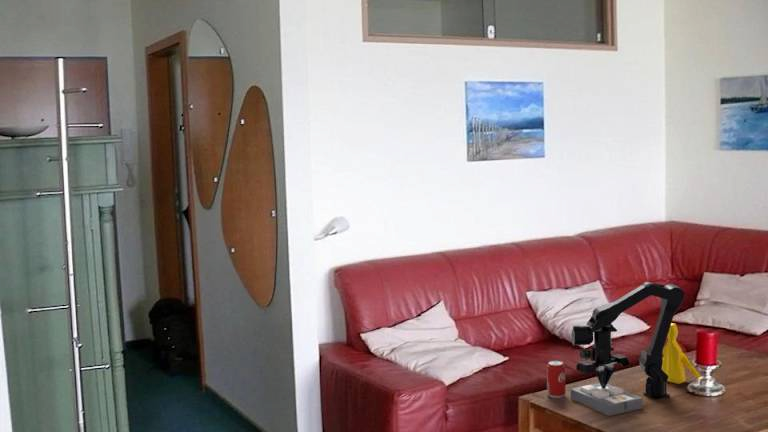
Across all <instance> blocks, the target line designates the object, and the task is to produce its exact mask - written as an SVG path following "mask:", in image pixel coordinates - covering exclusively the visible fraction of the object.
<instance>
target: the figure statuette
mask: <svg viewBox="0 0 768 432" xmlns="http://www.w3.org/2000/svg"><path fill="white" fill-rule="evenodd" d="M678 329H679V328H678V326H677V324H676V323H671V326H670V329H669V332H668V335H667V339H666V340H667V341H666V343H665V345H664V348H663V351H662V359H663V363H662V370H663V371H664V372H665V373H666V374H667V375H668V376H669V377H668V380H667V382H668V383H673V384H677V385H680V384H682V383H685V382H687V380H686V372H685V368H684V366H685V367H686V368H687V369H688V370H689V372H690V373H691V374H692V375H693V376H694V377H695V378H696V379H698V378H700V377H701V375H700V374H699V372H698V371H697V369H696V368H695V367H694V365H692V364H691V361H690V360H689V359H688V357H687V355H686V354H685V353H684V352H683V350H682V348H681V345H679V343H678V342H677V337H678V334H679V330H678Z"/></svg>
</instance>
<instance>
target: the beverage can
mask: <svg viewBox="0 0 768 432" xmlns="http://www.w3.org/2000/svg"><path fill="white" fill-rule="evenodd" d="M546 393H547V395H548V396H549V397H550V398H553V399H560V398H561V399H562V398H563V397H564V396H565V395H566V366H565V365H564V363H563V361H560V360H550V361H548V364H547V365H546Z"/></svg>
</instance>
